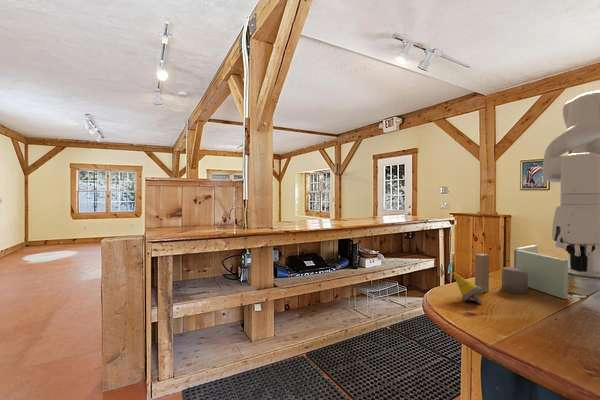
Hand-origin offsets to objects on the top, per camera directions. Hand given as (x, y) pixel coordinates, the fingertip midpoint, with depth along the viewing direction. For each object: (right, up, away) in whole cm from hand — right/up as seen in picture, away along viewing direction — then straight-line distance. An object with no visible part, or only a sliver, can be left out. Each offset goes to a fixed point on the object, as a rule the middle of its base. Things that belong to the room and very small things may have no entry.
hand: (578, 270), depth 79 cm
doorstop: (-12, -7, +6) cm, 16 cm away
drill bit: (-30, -8, -1) cm, 31 cm away
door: (-6, -7, +6) cm, 11 cm away
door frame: (-10, -7, +12) cm, 17 cm away
